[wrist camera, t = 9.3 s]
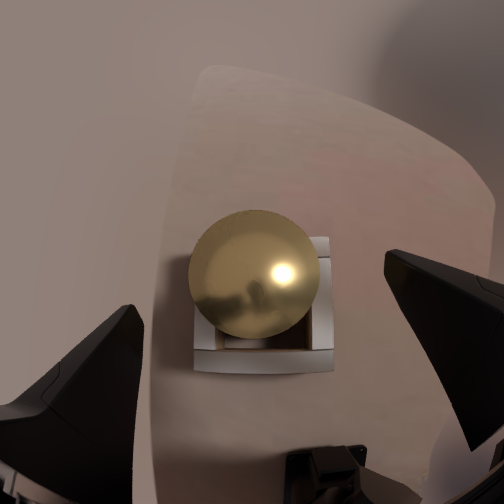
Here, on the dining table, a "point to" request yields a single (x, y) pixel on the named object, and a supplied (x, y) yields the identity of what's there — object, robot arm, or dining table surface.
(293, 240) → the gold cylinder
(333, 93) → the dining table surface
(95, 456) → the robot arm
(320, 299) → the shallow grey tray
